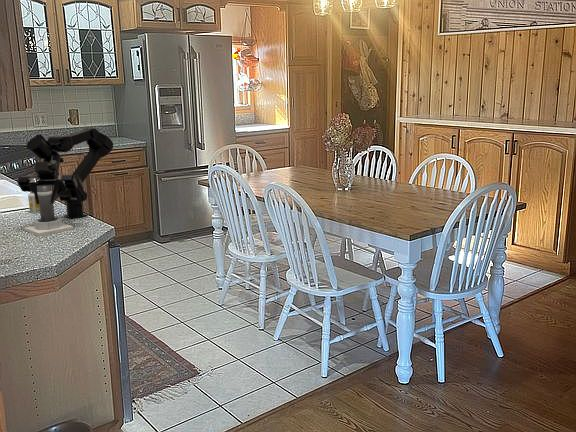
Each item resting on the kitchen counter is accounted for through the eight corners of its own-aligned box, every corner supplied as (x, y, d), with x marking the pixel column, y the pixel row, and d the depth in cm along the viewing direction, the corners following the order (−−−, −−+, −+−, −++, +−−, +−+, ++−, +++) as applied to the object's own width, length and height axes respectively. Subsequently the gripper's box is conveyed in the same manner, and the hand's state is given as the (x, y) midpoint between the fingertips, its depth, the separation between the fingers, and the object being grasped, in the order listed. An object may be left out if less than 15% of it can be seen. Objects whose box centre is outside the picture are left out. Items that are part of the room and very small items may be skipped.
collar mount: (24, 230, 203) (23, 220, 202) (58, 224, 211) (57, 214, 211) (39, 236, 195) (37, 225, 194) (73, 229, 203) (72, 219, 202)
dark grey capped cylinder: (38, 222, 203) (34, 185, 200) (52, 220, 206) (47, 183, 203) (44, 225, 199) (39, 187, 196) (58, 222, 203) (53, 185, 200)
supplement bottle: (46, 210, 235) (44, 186, 233) (41, 213, 230) (38, 188, 228) (33, 210, 235) (30, 186, 233) (27, 213, 230) (24, 189, 228)
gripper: (15, 153, 200) (7, 191, 192) (71, 151, 202) (66, 188, 194) (26, 172, 210) (19, 209, 201) (79, 170, 211) (75, 207, 203)
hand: (44, 203), depth 200 cm, fingers closed on dark grey capped cylinder, 4 cm apart
